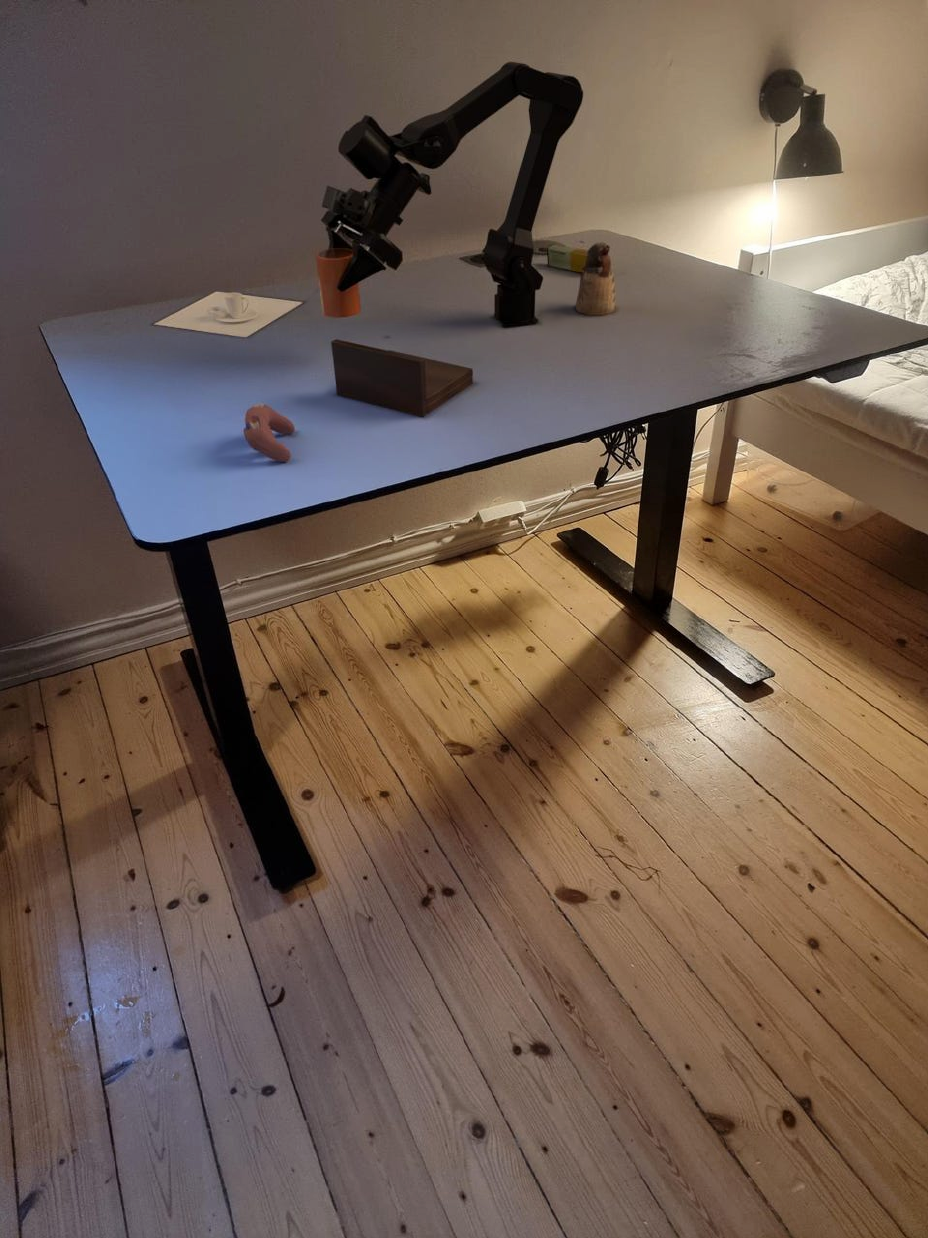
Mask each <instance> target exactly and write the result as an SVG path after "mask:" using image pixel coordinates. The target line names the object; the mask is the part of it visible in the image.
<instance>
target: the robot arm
mask: <svg viewBox="0 0 928 1238" xmlns="http://www.w3.org/2000/svg"><path fill="white" fill-rule="evenodd" d="M519 96H520V97H521V98H524V99H528V100H529V104H528V117H529V125H530V127H529V128H530V131H529V136H528V139H527V143H526V146H525V149H524V153H523V156H522V160H521V164H520V167H519V170H518V174H517V176H516V177H517V178H516V180H515V183H514V184H515V185H514V188H513V191H512V193H511V198H510V201H509V205H508V208H507V211H506V215H505V219H504V220H503V222H502V224H500V226H499V227H498V229H494V228H489V230H488V232H487V239H486V243H485V246H484V248H483V249H482V251H481V252H482V253H483V254H484V256H483V265H484V266H485V269H486V271H487V272H489V274H490V276H491V279H492V281H493V283H497V285H496V293H495V294H494V301H493V302H494V305H493V306H494V311H493V317H494V318H495V319H496V320H497V321H498V322H499V323H500V324H501V325H502V326H503V327H505V328H509V327H518V326H524V325H525V326H526V325H531V324H537V323H539V318H537V317H536V291H539V290H540V289H541V287H542V284H543V281H544V276H543V275H542V274H541V273H540V272H539V271H538V270H537V269H536V267H535V266H533V265H532V264H533V257H534V252H535V249H534V239H533V227H534V223H535V221H536V217H537V214H538V210H539V208H540V204H541V201H542V198H543V194H544V190H545V188H546V185H547V181H548V177H549V175H550V171H551V168H552V164H553V161H554V158H555V154H556V152H557V149H558V148H557V147H558V145H559V142H560V140H561V139H562V137H563V136H564V135H565V134H566V132H567V131H568V130H569V129H570V128H571V126H572V125H573V124H574V122H575V119H576V117H577V115H578V113H579V111H580V109H581V106H582V103H583V99H584V90H583V89H582V84H581V83H580V81H579V79H578V78H577V77H575V76H573V75H568V74H562V73H557V72H556V73H555V72H551V71H547V72H544V71H541V70H538V69H535V68H533V67H530V65H528V64H527V63H523V62H516V61H508V62H506V63H504V64H503V65H502V66H501V67H500V69H499V70H497V71H496V72H495V73H493V74H492V75H490V76H489V77H488V78H487V79H485V80H484V81H482V82H481V83H480V84H479V85H477V86H476V87H474V88H472V90H470V91H469V92H468V93H466V94H464V96H462V97H460V98H459V99H458V100H456V101H455V102H454V103H452V104H451V105H450V106H448V107H447V108H445V109H444V110H441V111H439V112H435V113H431V114H428V115H425V116H423V117H421V118H419V119H416V120H414V121H412V122H410V123H407V124H406V126H404V128H403V129H402V131H401V132H399V133H395V134H392V135H391V134H390V135H388V134H387V133H386V132H385V131H384V130H383V128H381V126H380V124H379V123H378V121H376V119H375V118H374V117H373V116H371V115H367V114H364V116H363V117H362V118H361V120H360V121H357V122H356V123H355V124H353V125H352V126H351V127H349V129H348V130H346V131H345V132H344V133H343V135H342V137H341V138H340V141H339V143H338V149H337V150H338V153H339V154H340V155H341V157H343V158H344V159H345V160H346V161H347V162H348V163H349V164H350V165H351V166H352V167H354V169H356V171H358V172H359V173H360V174H361V176H363V178H365V179H366V180H372V179H374V178H375V179H376V181H375V183H374V184H373V186H372V187H371V189H370V191H367V190H366V189H364V190H361V191H360V190H357V189H355V188H352V187H350V188H348V190H347V191H343V190H342V189H338V188H335V187H333V186H330V185H326V188H325V192H324V196H323V200H322V204H321V208H324V209H328V210H326V212H325V214H324V215H323V216H322V218H321V220H320V222H321V223H323V225H325V226H326V227H325V232H327V236H328V241H329V244H328V248H327V249H332V248H346V249H351V250H353V256H352V258H351V260H350V262H349V264H348V266H347V267H346V269H345V271H344V273H343V275H342V277H341V279H340V281H339V283H338V285H337V289H339V290H340V291H341V292H343V291H345V290H346V289H348V288H350V287H352V286H353V285H355V284H357V283H358V284H359V283H361V282H362V281H364V280H366V279H367V278H369V277H372V276H373V275H375V274H377V273H379V272H381V271H383V272H384V271H386V270H387V267H388V268H390V269H392V270H394V271H397V270H398V268H399V267H400V266H401V264H402V263H403V260H404V259H403V251H402V250H401V249H400V248H399V247H398V246H397V245H395V243H393V242H392V241H391V240H390V238H388V237H387V236H388V234H389V233H390V231H391V229H392V228H393V227H394V225H398V226H401V224H402V223H403V222H404V220H403V218H402V217H401V215H402V213H403V212H404V211H405V209H406V207H407V206H408V204H409V203H410V202H411V200H412V199H413V197H414V196H415V194H416V193H417V192H420V193H423V194H425V195H427V196H430V195H432V185H431V182H430V180H431V175H429V174H427V173H424V172H422V173H420V172H419V171H418V170H417V169H416V168H415V167H414V166H413V165H414V164H415V165H418V166H421V167H423V168H426V169H428V170H436V169H438V168H440V167H441V166H442V165H443V164H445V163H446V162H447V161H448V160H449V158H450V157H451V156H453V155H454V153H455V152H456V151H457V149H458V147H459V145H460V143H461V141H462V140H463V139H464V138H465V137H466V136H467V135H468V134H469V133H470V132H471V131H473V130H474V129H476V128H477V127H478V126H479V125H481V124H483V123H484V122H485V121H487V120H488V119H489V118H490V117H492V116H494V115H495V114H496V113H497V112H498V111H500V110H501V109H503V108H504V107H505V106H507V105H508V104H509V103H510V102H512V101H514V100H515V99H516V98H517V97H519ZM396 155H397V156H400V157H402V158H404V159H405V160H406V161H407V162H402V161H401V160H400V159H398V157H397V156H396ZM412 164H413V165H412ZM385 265H386V266H387V267H386V266H385Z"/></svg>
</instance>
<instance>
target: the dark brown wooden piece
mask: <svg viewBox="0 0 928 1238" xmlns="http://www.w3.org/2000/svg"><path fill="white" fill-rule="evenodd" d="M330 343H331V353H332V362H333V370H334V380H335V389H336V395H337V396H338V397H342V398H346V399H350V400H353V401H358V402H361V403H365V404H369V405H373V406H377V407H381V408H383V409H384V408H385V409H388V410H393V411H396V412H400V413H404V414H408V415H412V416H415V417H420V418H424V417H426V416H427V415H429V414H430V413H432V412H434V410H436V409H437V408H439V407H441V406H442V405H444V404H445V403H446V402H448V401H449V400H451V399H452V398H454V397H455V396H457V395H459V394H460V393H462V392H463V391H464V390H465V389H467V388H468V387H470V386H472V385H473V384H474V376H473V374H474V373H473V370H474V369H473V368H471V367H468V366H463V365H458V364H453V363H449V362H446V361H445V362H444V361H442V360H441V361H440V360H436V359H431V358H427V357H423V356H417V355H414V354H409V353H404V352H400V351H395V350H391V349H388V350H386V349H381V348H377V347H375V346H369V345H364V344H359V343H356V342H351V341H346V340H342V339H337V338H335V339H334V340H332V341H331V340H330Z"/></svg>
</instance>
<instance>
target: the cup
mask: <svg viewBox="0 0 928 1238" xmlns="http://www.w3.org/2000/svg"><path fill="white" fill-rule="evenodd" d="M352 256H353V250H351V249H346V248H332V249H328V248H326V249H323V250H319V251H318V252H316V253H315V262H316V271H317V279H318V286H319V294H320V302H321V311H322V312H321V313H322V314H323V315H324V316H325V317H329V318H334V319H335V318H336V319H339V318H340V319H341V318H351V317H354V316H356V315H358V314H360V313H361V311H362V309H361V308H362V307H361V298H360V297H361V296H360V288H359V286H360V285H359V283H357V284H355V285H353V286H352V287H350V288H348V289H346V290H345V291H343V292H341V291H340V290H339V289H337V285H338V283H339V281H340V279H341V277H342V275H343V273H344V271H345V269H346V267H347V266H348V264H349V262H350V260H351V258H352Z"/></svg>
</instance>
